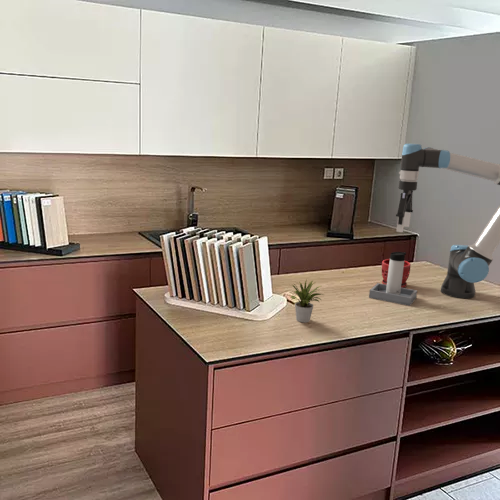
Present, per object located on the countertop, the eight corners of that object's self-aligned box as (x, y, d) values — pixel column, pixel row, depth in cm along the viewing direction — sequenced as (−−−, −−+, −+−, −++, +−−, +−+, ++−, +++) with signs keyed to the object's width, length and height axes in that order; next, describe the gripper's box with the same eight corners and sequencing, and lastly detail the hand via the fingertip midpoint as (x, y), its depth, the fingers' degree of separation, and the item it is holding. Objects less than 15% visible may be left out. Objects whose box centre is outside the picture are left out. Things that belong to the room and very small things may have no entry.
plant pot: (379, 280, 275) (382, 257, 272) (406, 283, 272) (410, 260, 270) (379, 288, 263) (382, 264, 260) (408, 291, 260) (411, 267, 257)
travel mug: (401, 298, 246) (406, 254, 242) (385, 296, 248) (391, 253, 243) (400, 294, 252) (405, 251, 248) (385, 292, 254) (390, 249, 249)
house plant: (292, 329, 207) (296, 287, 203) (276, 316, 219) (279, 276, 215) (326, 325, 213) (330, 284, 209) (308, 312, 225) (311, 273, 221)
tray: (416, 297, 252) (417, 290, 251) (409, 305, 241) (410, 298, 240) (376, 290, 260) (377, 283, 259) (368, 297, 248) (369, 290, 248)
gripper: (405, 177, 252) (400, 223, 257) (393, 182, 230) (387, 232, 235) (422, 178, 249) (416, 225, 254) (411, 184, 227) (405, 235, 232)
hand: (402, 229), depth 245 cm, fingers open, 13 cm apart
